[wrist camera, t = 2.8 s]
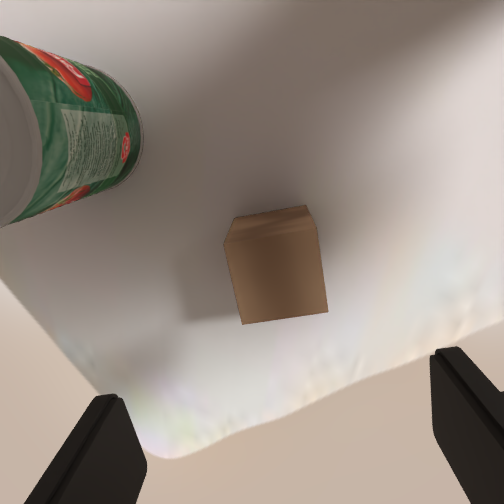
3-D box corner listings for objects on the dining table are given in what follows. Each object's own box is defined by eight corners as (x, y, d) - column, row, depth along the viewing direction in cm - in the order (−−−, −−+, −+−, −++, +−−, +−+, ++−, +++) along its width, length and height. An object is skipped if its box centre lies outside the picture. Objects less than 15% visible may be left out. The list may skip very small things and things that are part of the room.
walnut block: (305, 204, 24) (316, 227, 18) (315, 271, 25) (328, 312, 20) (234, 217, 24) (223, 244, 19) (248, 282, 26) (242, 324, 20)
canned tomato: (116, 47, 21) (-32, -33, 11) (160, 175, 24) (74, 210, 13) (3, 85, 22) (-233, 45, 12) (56, 203, 25) (-100, 257, 14)
